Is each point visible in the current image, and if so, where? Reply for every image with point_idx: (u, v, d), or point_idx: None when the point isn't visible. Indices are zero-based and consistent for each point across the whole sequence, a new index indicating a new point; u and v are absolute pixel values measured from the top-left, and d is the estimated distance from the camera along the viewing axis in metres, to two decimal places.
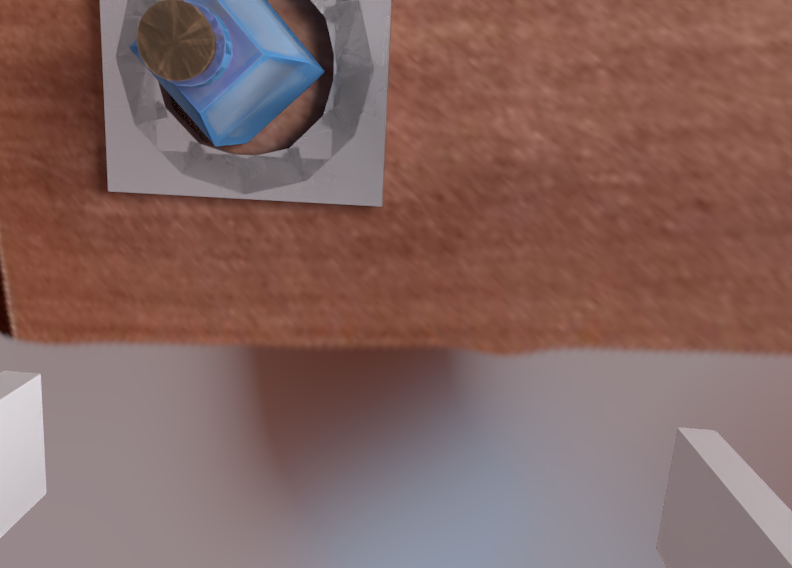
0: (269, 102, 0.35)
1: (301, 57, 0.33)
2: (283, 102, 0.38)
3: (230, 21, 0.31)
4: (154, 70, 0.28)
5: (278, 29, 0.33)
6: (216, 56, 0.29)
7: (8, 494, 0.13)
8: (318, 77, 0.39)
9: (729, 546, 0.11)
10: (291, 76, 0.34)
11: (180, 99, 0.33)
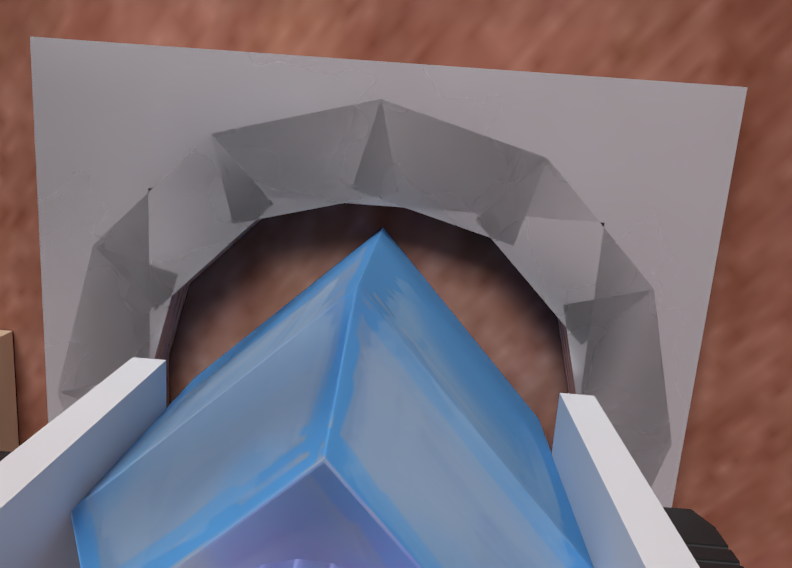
0: (468, 397, 0.12)
1: (341, 304, 0.10)
2: (456, 339, 0.15)
3: (211, 557, 0.09)
4: None
5: (258, 368, 0.11)
6: None
7: None
8: (395, 245, 0.16)
9: (582, 492, 0.13)
10: (398, 338, 0.11)
11: None
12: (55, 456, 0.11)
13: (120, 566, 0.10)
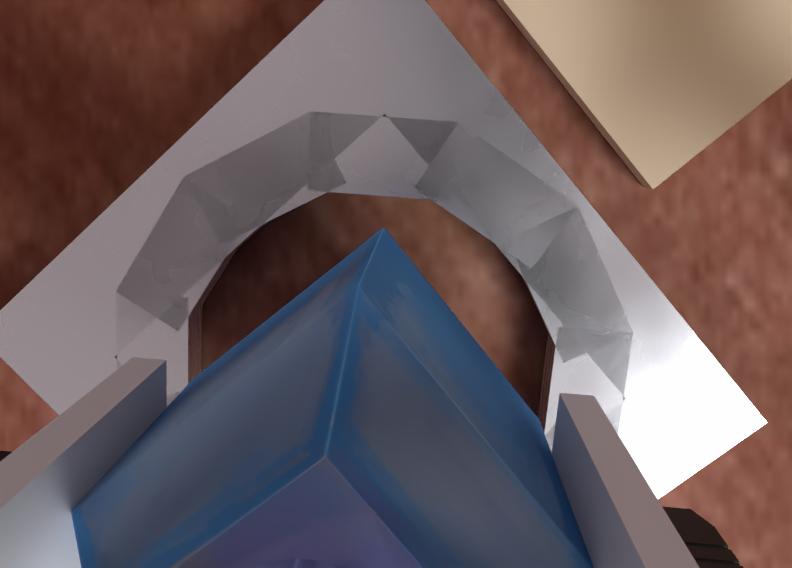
0: (469, 397, 0.12)
1: (342, 303, 0.10)
2: (456, 338, 0.15)
3: (212, 555, 0.09)
4: None
5: (259, 367, 0.11)
6: None
7: None
8: (396, 245, 0.16)
9: (581, 492, 0.13)
10: (399, 337, 0.11)
11: None
12: (56, 456, 0.11)
13: (121, 565, 0.10)
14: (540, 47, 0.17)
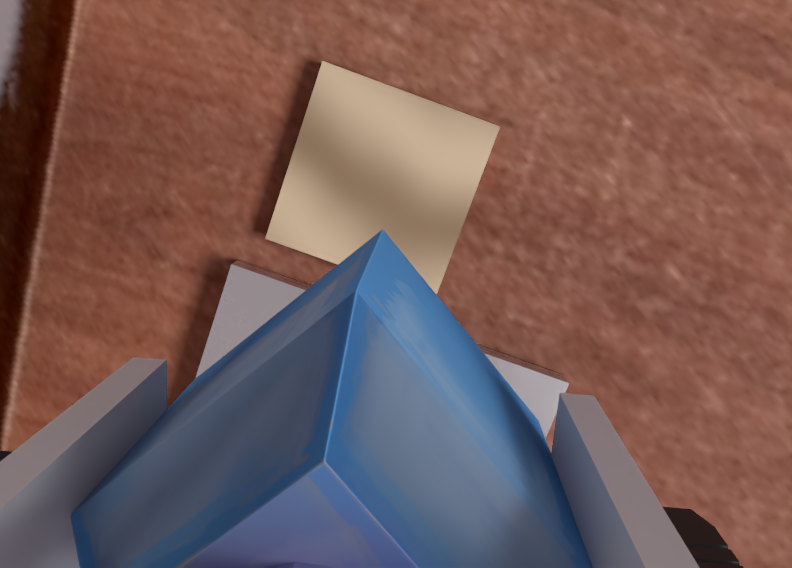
0: (468, 399, 0.12)
1: (340, 306, 0.10)
2: (456, 340, 0.15)
3: (210, 560, 0.09)
4: None
5: (257, 370, 0.11)
6: None
7: None
8: (395, 247, 0.16)
9: (581, 492, 0.13)
10: (398, 340, 0.11)
11: None
12: (55, 456, 0.11)
13: None
14: (336, 263, 0.31)
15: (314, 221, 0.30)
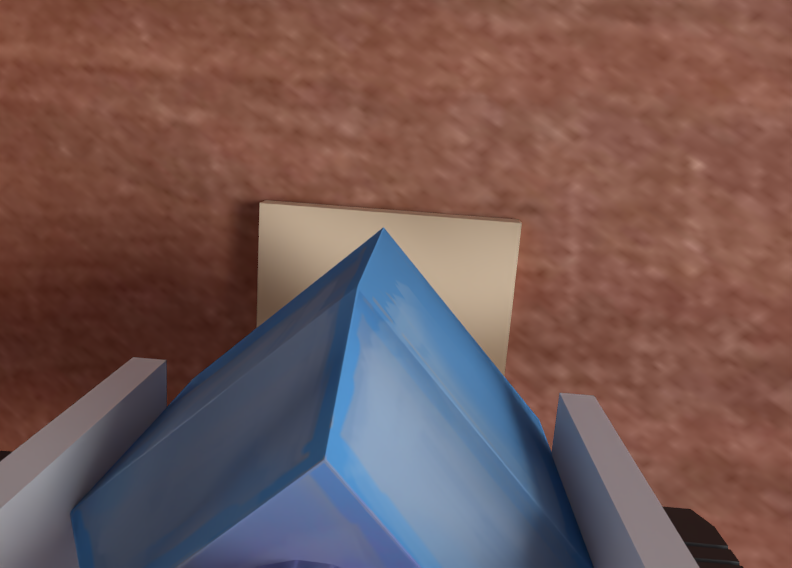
0: (469, 398, 0.12)
1: (341, 304, 0.10)
2: (457, 339, 0.15)
3: (210, 557, 0.09)
4: None
5: (258, 368, 0.11)
6: None
7: None
8: (396, 245, 0.16)
9: (581, 492, 0.13)
10: (399, 338, 0.10)
11: None
12: (56, 456, 0.11)
13: (119, 567, 0.09)
14: None
15: None
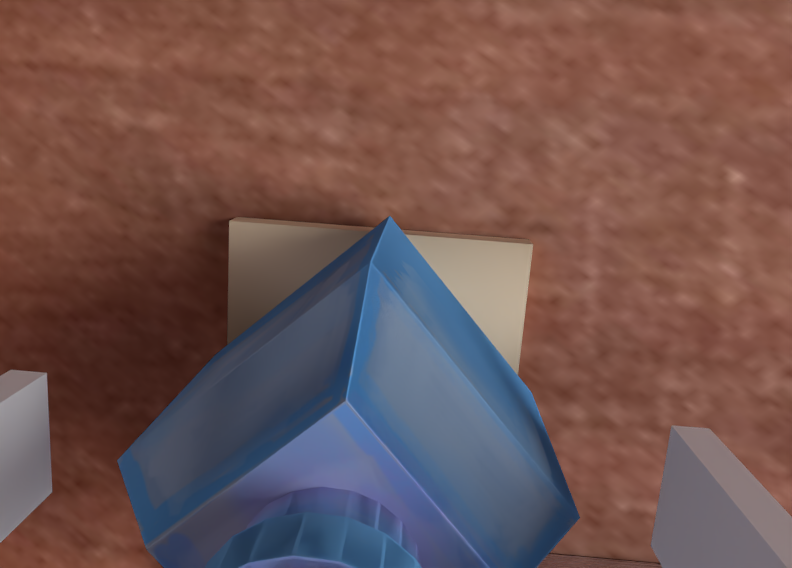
0: (467, 362, 0.14)
1: (357, 276, 0.12)
2: (456, 315, 0.16)
3: (249, 485, 0.10)
4: None
5: (284, 332, 0.12)
6: None
7: (15, 492, 0.13)
8: (401, 232, 0.18)
9: (722, 543, 0.11)
10: (406, 306, 0.12)
11: None
12: None
13: (168, 498, 0.11)
14: None
15: None
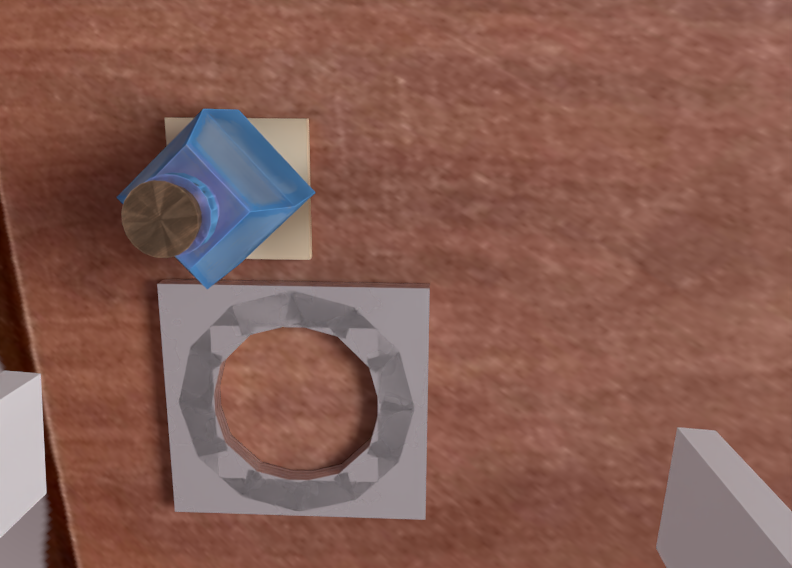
0: (252, 153, 0.34)
1: (198, 114, 0.32)
2: (264, 148, 0.37)
3: None
4: (190, 241, 0.28)
5: (174, 139, 0.33)
6: (179, 184, 0.29)
7: (8, 494, 0.13)
8: (243, 116, 0.38)
9: (729, 547, 0.11)
10: (218, 125, 0.33)
11: (245, 236, 0.33)
12: None
13: None
14: None
15: None
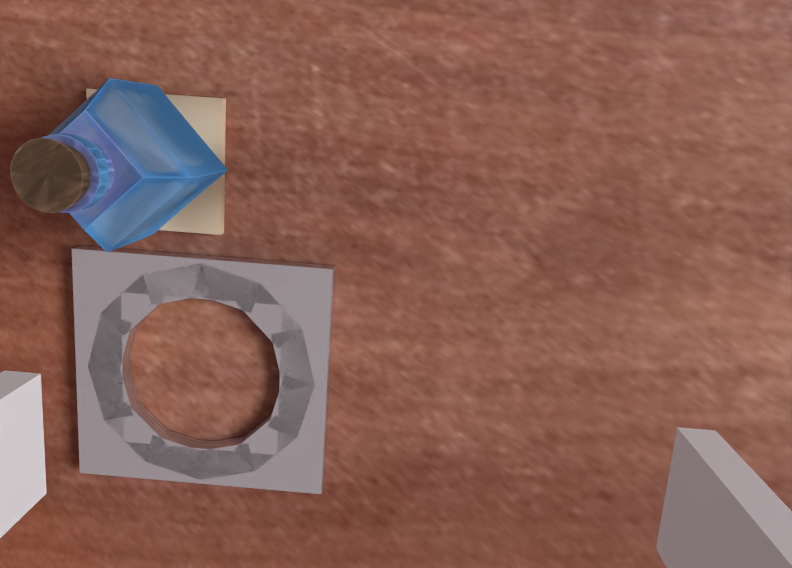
0: (157, 124, 0.36)
1: (104, 83, 0.34)
2: (176, 122, 0.38)
3: None
4: (74, 198, 0.29)
5: (80, 105, 0.34)
6: (70, 144, 0.30)
7: (8, 494, 0.13)
8: (161, 92, 0.40)
9: (729, 547, 0.11)
10: (123, 95, 0.34)
11: (142, 202, 0.34)
12: None
13: None
14: None
15: None
